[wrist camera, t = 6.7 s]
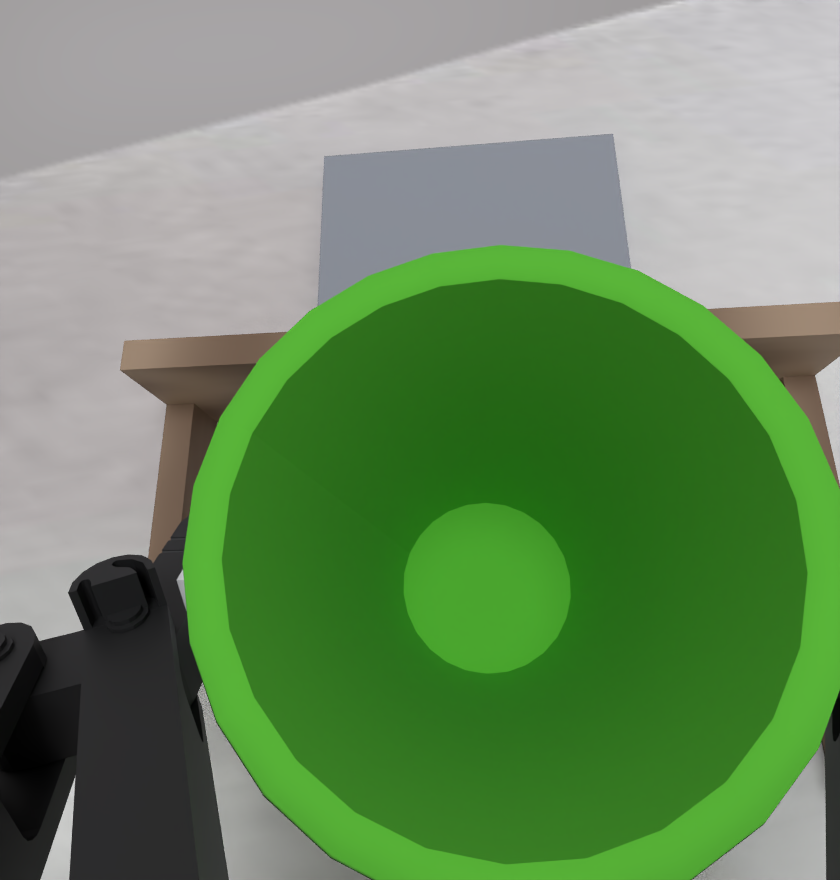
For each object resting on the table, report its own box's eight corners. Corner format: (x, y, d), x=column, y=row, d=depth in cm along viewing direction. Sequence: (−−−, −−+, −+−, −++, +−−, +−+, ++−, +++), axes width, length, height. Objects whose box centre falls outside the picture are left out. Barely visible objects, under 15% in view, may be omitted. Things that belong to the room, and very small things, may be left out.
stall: (153, 785, 20) (51, 833, 15) (194, 398, 24) (124, 340, 19) (867, 791, 18) (1005, 847, 13) (780, 372, 22) (862, 300, 17)
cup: (583, 807, 17) (770, 1101, 6) (290, 670, 18) (51, 720, 8) (675, 505, 19) (926, 348, 8) (406, 407, 21) (339, 176, 10)
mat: (320, 381, 24) (314, 372, 23) (328, 169, 27) (324, 156, 26) (637, 365, 23) (642, 356, 22) (608, 148, 26) (612, 133, 25)
